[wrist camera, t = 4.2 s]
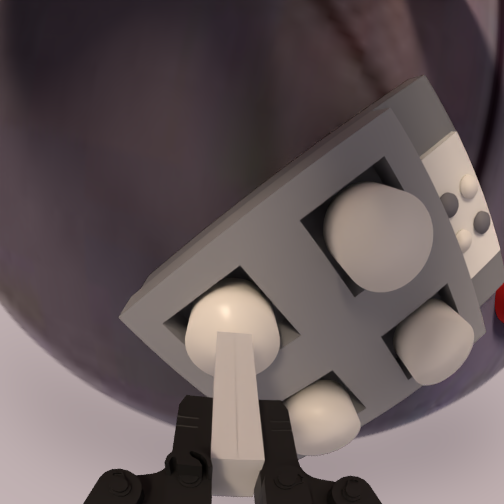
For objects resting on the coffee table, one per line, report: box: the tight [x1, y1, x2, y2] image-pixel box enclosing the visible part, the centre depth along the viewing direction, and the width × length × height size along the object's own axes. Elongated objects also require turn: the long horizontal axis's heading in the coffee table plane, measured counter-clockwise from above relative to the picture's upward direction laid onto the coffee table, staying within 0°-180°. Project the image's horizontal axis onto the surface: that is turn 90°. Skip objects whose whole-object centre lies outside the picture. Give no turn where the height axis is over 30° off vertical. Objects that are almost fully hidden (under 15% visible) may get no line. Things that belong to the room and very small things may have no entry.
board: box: [118, 75, 504, 460], centre depth 19 cm, size 18×23×4 cm
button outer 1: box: [283, 380, 361, 456], centre depth 18 cm, size 5×5×3 cm
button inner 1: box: [185, 278, 280, 376], centre depth 17 cm, size 5×5×3 cm
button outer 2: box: [393, 299, 474, 385], centre depth 17 cm, size 5×5×3 cm
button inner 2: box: [323, 181, 433, 292], centre depth 14 cm, size 5×5×3 cm
